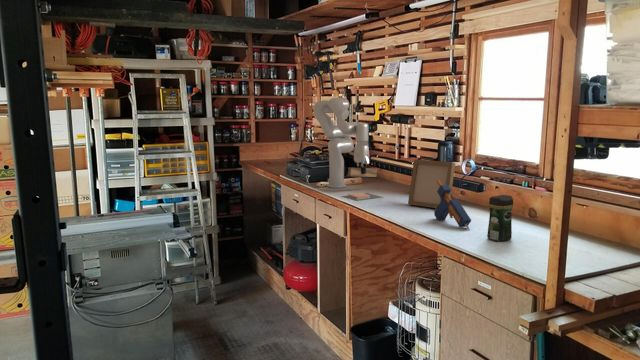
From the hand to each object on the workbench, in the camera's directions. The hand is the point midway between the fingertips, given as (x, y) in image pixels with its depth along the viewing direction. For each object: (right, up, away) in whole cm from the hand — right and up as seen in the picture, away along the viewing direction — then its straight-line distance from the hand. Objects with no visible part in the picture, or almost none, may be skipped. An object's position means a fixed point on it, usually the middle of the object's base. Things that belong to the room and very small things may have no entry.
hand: (361, 173), depth 303 cm
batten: (0, -2, +1) cm, 2 cm away
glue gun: (+36, -25, -73) cm, 85 cm away
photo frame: (+35, -19, -35) cm, 53 cm away
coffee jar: (+49, -29, -98) cm, 113 cm away
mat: (-1, -15, -13) cm, 20 cm away
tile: (+1, -13, -13) cm, 18 cm away
